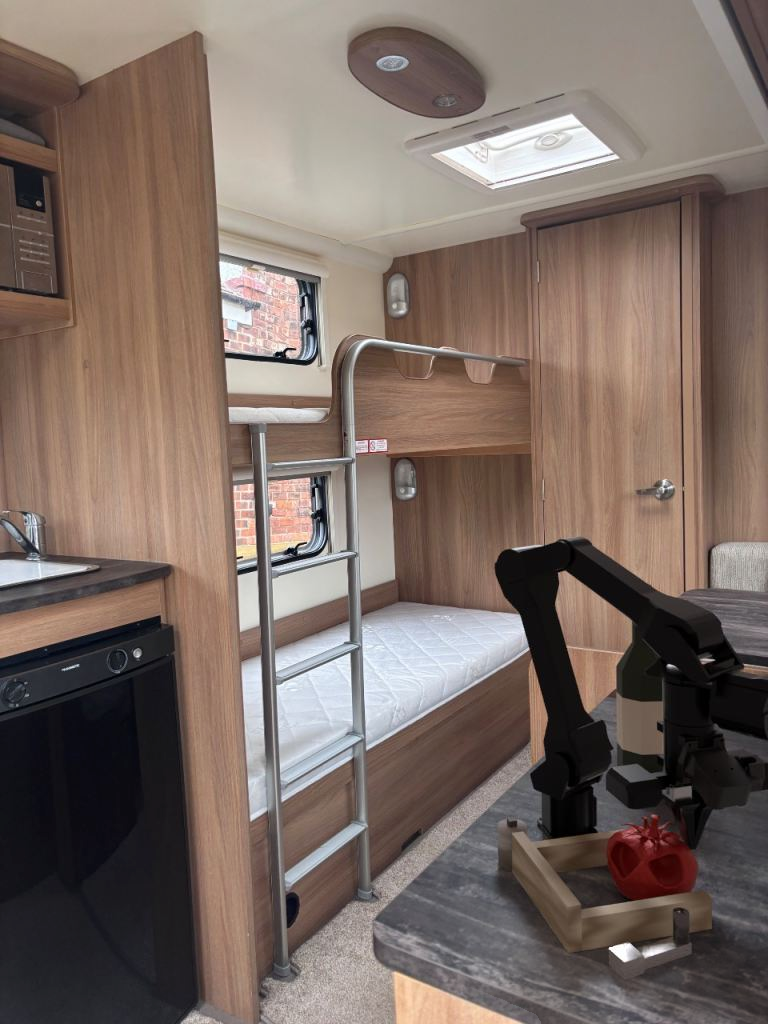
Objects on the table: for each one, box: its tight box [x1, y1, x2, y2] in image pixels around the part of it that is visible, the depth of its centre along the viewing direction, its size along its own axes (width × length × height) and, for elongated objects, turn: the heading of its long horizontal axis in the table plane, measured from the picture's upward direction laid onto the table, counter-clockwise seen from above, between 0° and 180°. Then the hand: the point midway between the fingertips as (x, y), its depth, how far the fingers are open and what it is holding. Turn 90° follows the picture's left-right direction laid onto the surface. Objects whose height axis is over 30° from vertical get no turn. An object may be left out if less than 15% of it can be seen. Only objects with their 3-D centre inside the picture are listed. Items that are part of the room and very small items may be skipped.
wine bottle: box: [615, 583, 664, 773], centre depth 123 cm, size 8×8×30 cm
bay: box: [497, 816, 713, 954], centre depth 91 cm, size 18×20×6 cm
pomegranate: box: [606, 814, 699, 901], centre depth 90 cm, size 10×10×9 cm
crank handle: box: [608, 907, 693, 981], centre depth 79 cm, size 9×2×4 cm, turn 111°
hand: (690, 848), depth 91 cm, fingers closed
